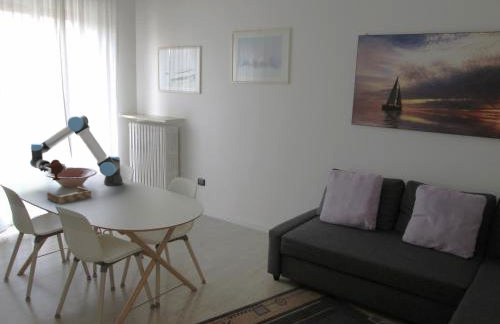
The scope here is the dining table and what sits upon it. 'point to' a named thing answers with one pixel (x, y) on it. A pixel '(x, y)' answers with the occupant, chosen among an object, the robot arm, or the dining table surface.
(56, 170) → the ice cream bowl
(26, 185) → the dining table surface
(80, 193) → the bay
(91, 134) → the robot arm
